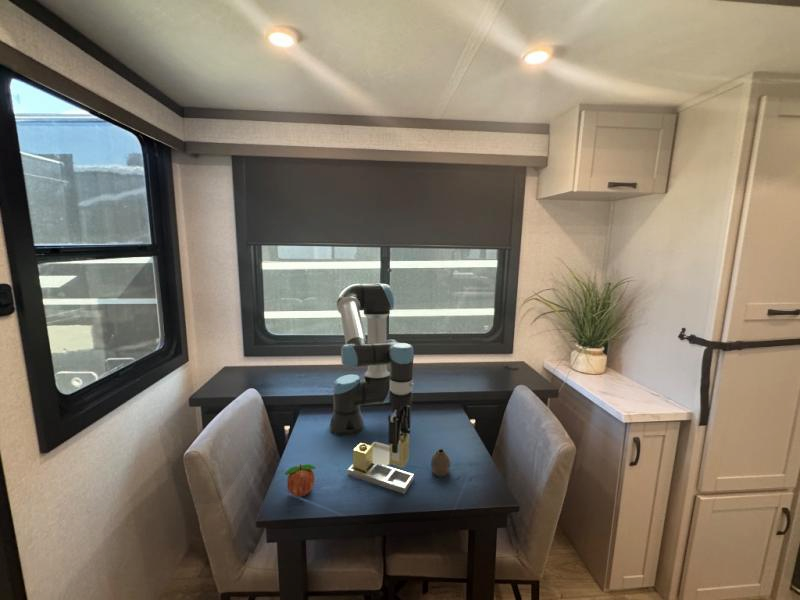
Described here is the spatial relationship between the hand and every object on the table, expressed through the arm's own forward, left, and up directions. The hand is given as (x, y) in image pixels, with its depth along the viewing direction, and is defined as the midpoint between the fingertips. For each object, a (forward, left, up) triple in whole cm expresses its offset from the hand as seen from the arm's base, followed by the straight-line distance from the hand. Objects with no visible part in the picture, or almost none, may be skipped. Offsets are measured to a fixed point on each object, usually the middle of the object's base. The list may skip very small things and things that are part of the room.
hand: (399, 455), depth 116 cm
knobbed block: (0, 0, -2) cm, 2 cm away
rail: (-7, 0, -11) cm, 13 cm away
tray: (-13, +11, -11) cm, 20 cm away
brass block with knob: (-14, 0, -10) cm, 17 cm away
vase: (+11, +12, -11) cm, 19 cm away
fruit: (-27, -18, -11) cm, 34 cm away
